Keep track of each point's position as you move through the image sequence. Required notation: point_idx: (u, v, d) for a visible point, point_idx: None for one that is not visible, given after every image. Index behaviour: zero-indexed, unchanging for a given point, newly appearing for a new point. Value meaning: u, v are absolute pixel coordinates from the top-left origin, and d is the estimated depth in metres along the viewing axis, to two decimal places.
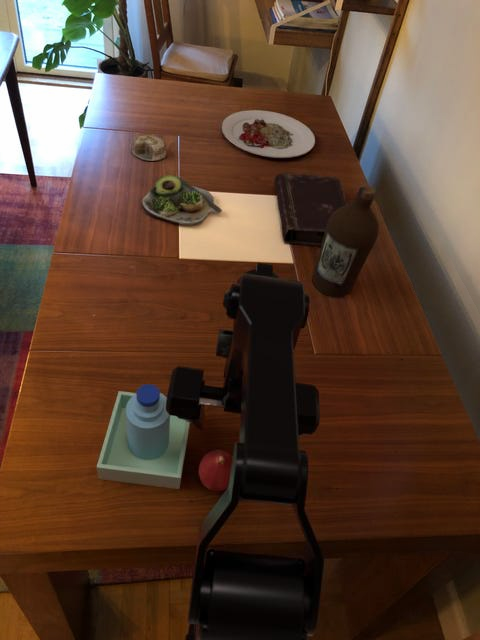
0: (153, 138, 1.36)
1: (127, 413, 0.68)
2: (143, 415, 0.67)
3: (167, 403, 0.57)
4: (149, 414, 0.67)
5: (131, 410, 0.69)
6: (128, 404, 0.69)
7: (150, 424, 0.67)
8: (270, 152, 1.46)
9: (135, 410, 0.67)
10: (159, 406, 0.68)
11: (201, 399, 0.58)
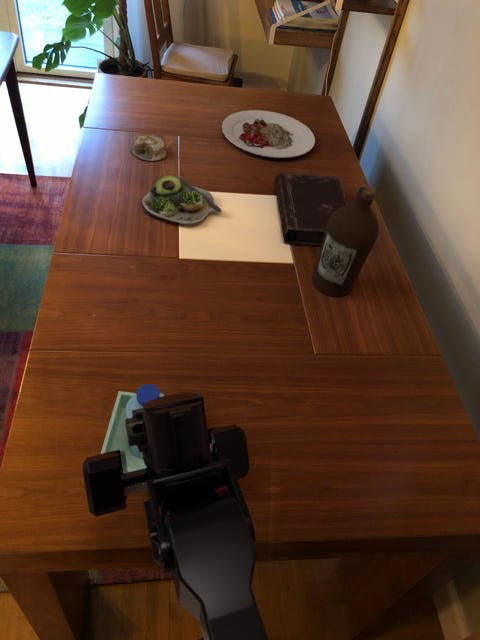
0: (153, 138, 1.36)
1: (127, 413, 0.68)
2: None
3: (91, 513, 0.52)
4: None
5: (131, 410, 0.69)
6: (128, 404, 0.69)
7: None
8: (270, 152, 1.46)
9: None
10: None
11: (125, 490, 0.53)
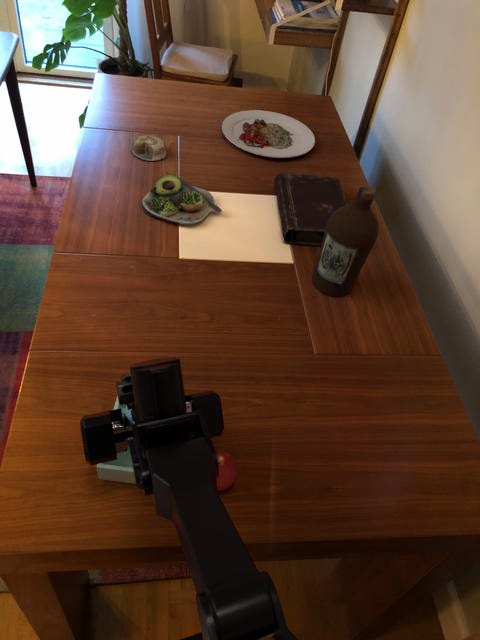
0: (153, 138, 1.36)
1: (127, 413, 0.68)
2: None
3: (87, 462, 0.61)
4: None
5: None
6: None
7: None
8: (270, 152, 1.46)
9: None
10: None
11: (126, 442, 0.63)
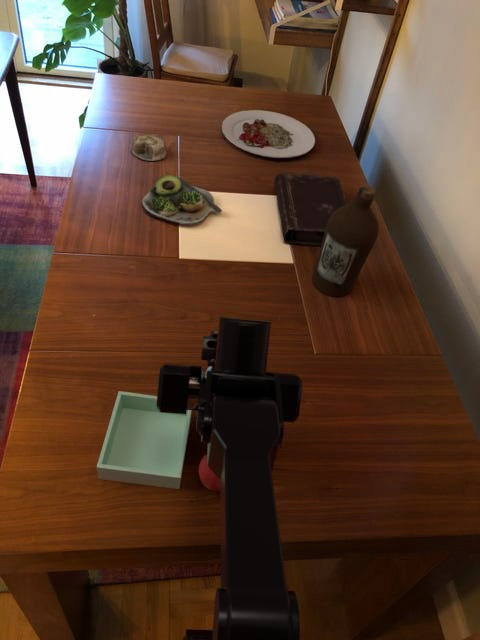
0: (153, 138, 1.36)
1: None
2: None
3: (157, 408, 0.61)
4: None
5: None
6: (209, 367, 0.69)
7: None
8: (270, 152, 1.46)
9: None
10: None
11: (198, 400, 0.62)
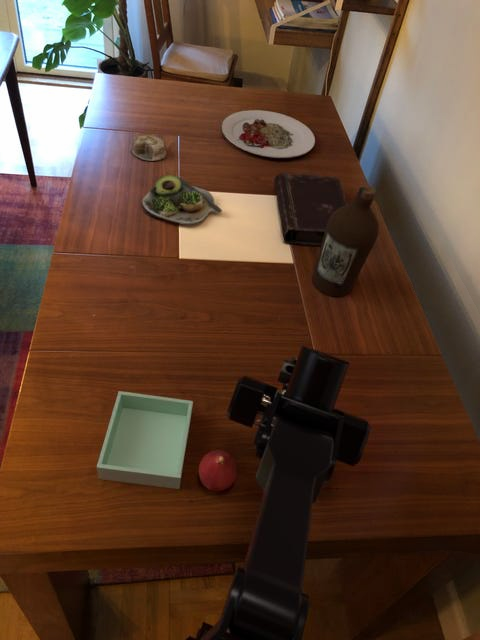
0: (153, 138, 1.36)
1: None
2: None
3: (227, 415, 0.65)
4: None
5: None
6: (285, 391, 0.71)
7: None
8: (270, 152, 1.46)
9: None
10: None
11: None
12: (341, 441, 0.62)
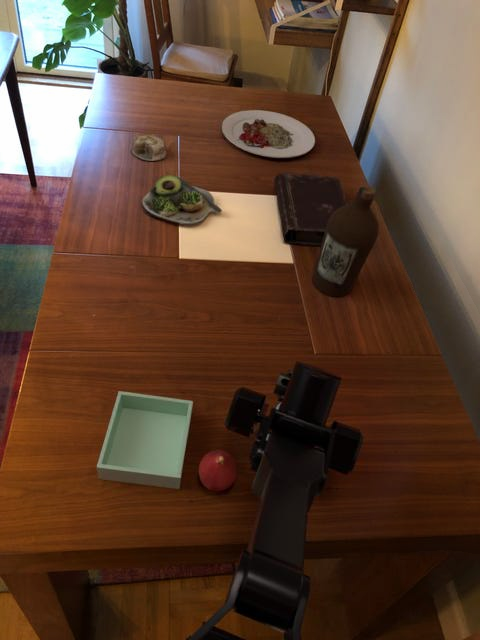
0: (153, 138, 1.36)
1: None
2: None
3: (225, 425, 0.68)
4: None
5: None
6: None
7: None
8: (270, 152, 1.46)
9: None
10: None
11: (255, 425, 0.67)
12: (335, 451, 0.65)
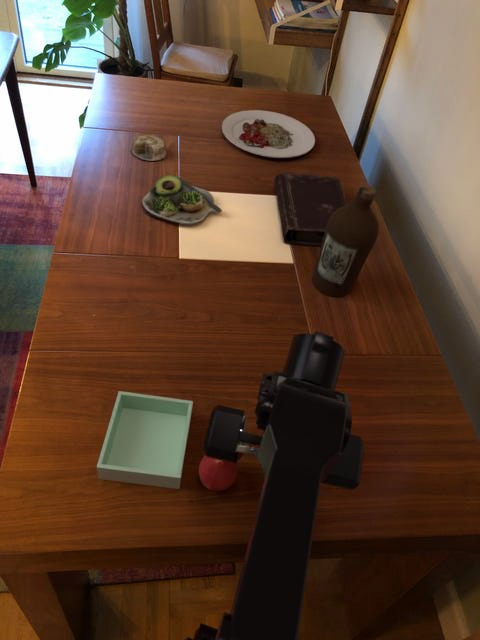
0: (153, 138, 1.36)
1: None
2: None
3: (204, 450, 0.56)
4: None
5: None
6: None
7: None
8: (270, 152, 1.46)
9: None
10: None
11: (239, 446, 0.57)
12: (336, 459, 0.55)
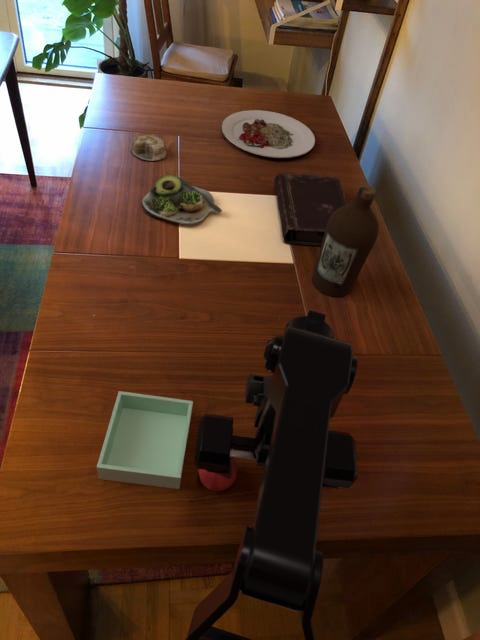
0: (153, 138, 1.36)
1: None
2: None
3: (196, 457, 0.53)
4: None
5: None
6: None
7: None
8: (270, 152, 1.46)
9: None
10: None
11: (231, 451, 0.54)
12: (331, 452, 0.55)
